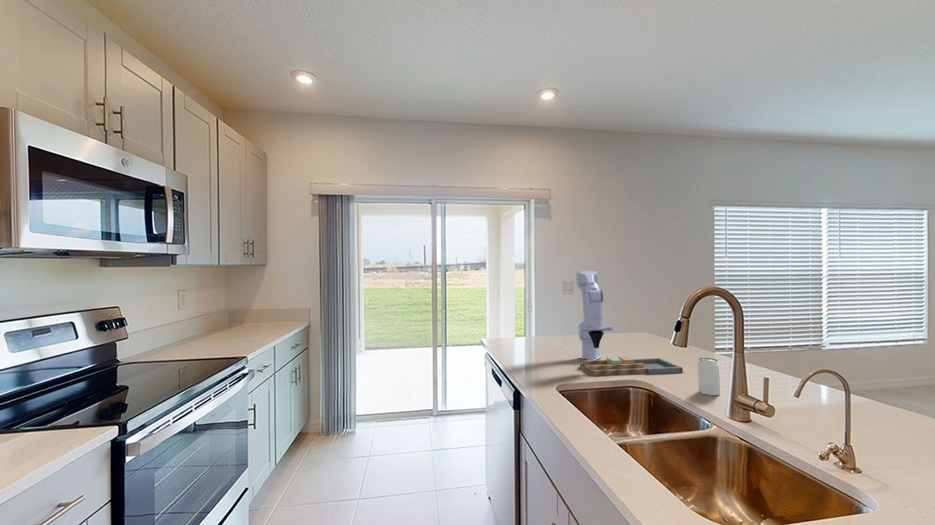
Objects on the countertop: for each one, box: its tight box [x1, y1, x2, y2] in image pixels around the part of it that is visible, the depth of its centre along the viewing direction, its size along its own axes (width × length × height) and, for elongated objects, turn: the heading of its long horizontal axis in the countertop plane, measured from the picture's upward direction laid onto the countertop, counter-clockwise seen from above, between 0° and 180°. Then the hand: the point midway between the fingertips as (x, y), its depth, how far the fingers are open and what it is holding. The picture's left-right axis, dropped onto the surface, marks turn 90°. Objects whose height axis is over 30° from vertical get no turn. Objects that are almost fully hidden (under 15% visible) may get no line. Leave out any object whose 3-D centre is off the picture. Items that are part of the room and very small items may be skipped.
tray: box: [633, 357, 684, 375], centre depth 163 cm, size 15×16×2 cm
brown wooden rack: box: [579, 358, 648, 377], centre depth 162 cm, size 24×14×4 cm, turn 94°
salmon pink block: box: [617, 356, 634, 364], centre depth 162 cm, size 4×6×3 cm, turn 4°
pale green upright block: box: [606, 356, 622, 365], centre depth 162 cm, size 4×6×3 cm, turn 4°
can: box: [697, 357, 721, 396], centre depth 131 cm, size 6×6×12 cm
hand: (596, 347), depth 161 cm, fingers closed
